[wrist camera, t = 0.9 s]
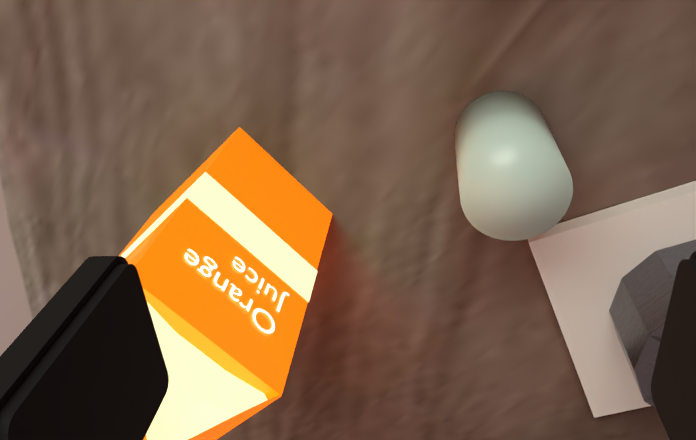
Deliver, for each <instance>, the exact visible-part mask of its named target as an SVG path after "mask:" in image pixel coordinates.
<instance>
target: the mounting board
mask: <svg viewBox="0 0 696 440" xmlns="http://www.w3.org/2000/svg"><path fill="white" fill-rule="evenodd" d="M692 240H696V181H693V182H690V183H687V184H684V185H680V186H677V187H674V188H671V189H668V190H664V191H661V192H658V193H655V194H652V195H648V196H645V197H642V198H639V199H635V200H632V201H629V202H626V203H623V204H619V205H616V206H613V207H610V208H607V209H603V210H600V211H597V212H594V213H591V214H587V215H584V216H581V217H578V218H574V219H571V220H568V221H565V222H562V223H558V224H556V225H554V226H553V227H552V228H551V229H549V230H548V231H546V232H544V233H542V234H540V235H538V236H535V237H533V238H529V239H528V243H529V245H530V248H531V251H532V253H533V256H534V259H535V261H536V264H537V267H538V269H539V272H540V275H541V277H542V280H543V283H544V285H545V288H546V291H547V293H548V296H549V299H550V301H551V304H552V307H553V309H554V312H555V315H556V317H557V320H558V323H559V325H560V328H561V331H562V333H563V336H564V339H565V341H566V344H567V346H568V349H569V352H570V354H571V357H572V360H573V362H574V365H575V368H576V370H577V373H578V376H579V378H580V381H581V384H582V386H583V389H584V392H585V394H586V397H587V400H588V402H589V405H590V408H591V410H592V413H593V416H594V418H595V417H600V416H605V415H610V414H615V413H619V412H624V411H629V410H634V409H638V408H643V407H648V406H651V405H649V404H648V403H646V402H645V401H644V400H643V398H642V395H641V393H640V390H639V388H638V386H637V383H636V381H635V378H634V376H633V373H632V371H631V369H630V366H629V364H628V361H627V359H626V356H625V354H624V352H623V349H622V347H621V344H620V342H619V339H618V336H617V333H616V330H615V327H614V324H613V321H612V318H611V315H610V312H609V309H610V307H611V304H612V302H613V299H614V296H615V294H616V291H617V289H618V286H619V284H620V281H621V279H622V277H624V276H625V275H626V274H627V273H629V272H630V271H631V270H632V269H634V268H635V267H636V266H637V265H639V264H640V263H641V262H642V261H644V260H645V259H646V258H647V257H648V256H650V255H651V254H652V253H653V252H655V251H657V250H660V249H664V248H667V247H671V246H674V245H678V244H681V243H685V242H688V241H692Z"/></svg>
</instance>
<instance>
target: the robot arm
mask: <svg viewBox="0 0 696 440" xmlns="http://www.w3.org/2000/svg"><path fill="white" fill-rule="evenodd" d="M168 383H169V376H168V371H167V368H166V364H165V361H164V358H163V354H162V351H161V348H160V344H159V341H158V338H157V334H156V331H155V328H154V324H153V321H152V317H151V314H150V311H149V307H148V304H147V301H146V297H145V294H144V291H143V287H142V284H141V281H140V277H139V274H138V271H137V268H136V267H135V266H134V265H133V264H128V261H127V260H126V259H125V258H124V257H122V256H93V257H89V258H88V259H86V260H85V261H84V263H83V264H82V265H81V266H80V267H79V268H78V269H77V270H76V272H75V273H74V274H73V275H72V276H71V277H70V278H69V280H68V281H67V282H66V283H65V284H64V285H63V286H62V287H61V289H60V290H59V291H58V292H57V293H56V294H55V295H54V296H53V298H52V299H51V300H50V301H49V302H48V303H47V304H46V305H45V307H44V308H43V309H42V310H41V311H40V312H39V313H38V315H37V316H36V317H35V318H34V319H33V320H32V321H31V322H30V324H29V325H28V326H27V327H26V328H25V329H24V330H23V332H22V333H21V334H20V335H19V336H18V337H17V338H16V339H15V340H14V342H13V343H12V344H11V345H10V346H9V347H8V348H7V350H6V351H5V352H4V353H3V354H2V355H1V356H0V440H143V439H144V437H145V435H146V433H147V431H148V429H149V427H150V425H151V423H152V421H153V419H154V417H155V415H156V413H157V411H158V409H159V407H160V405H161V403H162V401H163V399H164V397H165V395H166V392H167V389H168ZM651 394H652V399H653V402H654V405H655V407H656V409H657V412H658V414H659V416H660V418H661V420H662V423H663V425H664V427H665V429H666V431H667V433H668V436H669V438H670V440H696V251H695V252H693V253H692V255H691V256H690V258H689V259H683V260H681V261H680V263H679V265H678V268H677V272H676V276H675V281H674V285H673V289H672V294H671V298H670V302H669V307H668V311H667V315H666V320H665V324H664V328H663V333H662V337H661V341H660V346H659V350H658V354H657V359H656V363H655V367H654V372H653V376H652V380H651Z"/></svg>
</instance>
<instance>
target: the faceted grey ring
mask: <svg viewBox="0 0 696 440" xmlns="http://www.w3.org/2000/svg"><path fill="white" fill-rule="evenodd" d="M695 251H696V240H692V241H688V242H685V243H681V244H678V245H674V246H671V247H667V248H664V249H660V250H657V251H655V252H653V253H652V254H651V255H650V256H648V257H647V258H646V259H645V260H644V261H642V262H641V263H640V264H639V265H637V266H636V267H635V268H634V269H632V270H631V271H630V272H629V273H627V274H626V275H625V276H624V277H622V279H621V281H620V284H619V286H618V289H617V291H616V294H615V296H614V299H613V302H612V304H611V307H610V309H609V312H610V315H611V318H612V321H613V324H614V327H615V330H616V333H617V336H618V339H619V342H620V344H621V347H622V349H623V352H624V354H625V356H626V359H627V361H628V364H629V366H630V369H631V371H632V373H633V376H634V378H635V381H636V383H637V386H638V388H639V390H640V393H641V395H642V398H643V400H644V401H645V402H646V403H648V404H649V405H651V406H652V407H654V408H655V409H656V407H655V405H654V402H653V399H652V394H651V380H652V376H653V372H654V367H655V363H656V359H657V354H658V350H659V346H660V341H661V337H662V333H663V328H664V324H665V320H666V315H667V311H668V307H669V302H670V298H671V294H672V289H673V285H674V281H675V276H676V272H677V268H678V265H679V263H680V261H681V260H683V259H689V258H690V256H691V255H692V253H693V252H695Z"/></svg>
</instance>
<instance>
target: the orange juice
mask: <svg viewBox="0 0 696 440" xmlns="http://www.w3.org/2000/svg"><path fill="white" fill-rule="evenodd" d="M331 217H332V213H331V212H330V211H329V210H328V209H327V208H325V207H324V206H323V205H322V204H321V203H320V202H319V201H318V200H317V199H316V198H315V197H314V196H313V195H312V194H311V193H309V192H308V191H307V190H306V189H305V188H304V187H303V186H302V185H301V184H300V183H299V182H298V181H297V180H296V179H294V178H293V177H292V176H291V175H290V174H289V173H288V172H287V171H286V170H285V169H284V168H283V167H282V166H281V165H280V164H278V163H277V162H276V161H275V160H274V159H273V158H272V157H271V156H270V155H269V154H268V153H267V152H266V151H265V150H263V149H262V148H261V147H260V146H259V145H258V144H257V143H256V142H255V141H254V140H253V139H252V138H251V137H250V136H249V135H247V134H246V133H245V132H244V131H243V130H242V129H241V128H240V127H239V128H238V129H237V130H236V131H235V132H234V133H233V134H232V135H231V136H230V137H229V138H228V139H227V140H226V141H225V142H224V143H223V144H222V145H221V146H220V147H219V148H218V149H217V150H216V151H215V152H214V153H213V154H212V155H211V156H210V157H209V158H208V159H207V160H206V161H205V162H204V163H203V164H202V165H201V166H200V167H199V168H198V169H197V170H196V171H195V172H194V173H193V174H192V175H191V176H190V177H189V178H188V179H187V180H186V181H185V182H184V183H183V184H182V185H181V186H180V187H179V188H178V189H177V190H176V191H175V192H174V193H173V194H172V195H171V196H170V197H169V198H168V199H167V200H166V201H165V202H164V203H163V204H162V205H161V206H160V207H159V208H158V209H157V210H156V211H155V212H154V213H153V214H152V215H151V217H150V218H149V219H148V220H147V222H146V223H145V224H144V225H143V227H142V228H141V229H140V230H139V231H138V233H137V234H136V235H135V236H134V238H133V239H132V240H131V241H130V243H129V244H128V245H127V246H126V248H125V249H124V250H123V251H122V252H121V254H120V255H119V256H122V257H124V258H125V259H126V260H127V261H128V264H133V265H134V266H135V267H136V268H137V271H138V274H139V277H140V281H141V284H142V287H143V291H144V294H145V297H146V301H147V304H148V307H149V311H150V314H151V317H152V321H153V324H154V328H155V331H156V334H157V338H158V341H159V344H160V348H161V351H162V354H163V358H164V361H165V364H166V368H167V371H168V376H169V383H168V389H167V392H166V395H165V397H164V399H163V401H162V403H161V405H160V407H159V409H158V411H157V413H156V415H155V417H154V419H153V421H152V423H151V425H150V427H149V429H148V431H147V433H146V435H145V437H144V439H143V440H216V439H218V438H219V437H221V436H222V435H224V434H225V433H227V432H228V431H230V430H231V429H233V428H234V427H236V426H237V425H239V424H240V423H242V422H243V421H245V420H246V419H248V418H249V417H251V416H252V415H254V414H255V413H257V412H258V411H260V410H261V409H263V408H264V407H266V406H267V405H269V404H270V403H272V402H273V401H275V400H276V399H278V398H279V397H281V396H282V393H283V389H284V386H285V382H286V378H287V375H288V371H289V368H290V364H291V360H292V357H293V353H294V350H295V346H296V343H297V339H298V335H299V332H300V328H301V325H302V321H303V318H304V314H305V310H306V307H307V303H308V302H309V300H310V297H311V293H312V289H313V286H314V282H315V279H316V275H317V268H318V264H319V260H320V257H321V253H322V250H323V246H324V243H325V239H326V235H327V232H328V228H329V225H330V221H331Z"/></svg>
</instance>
